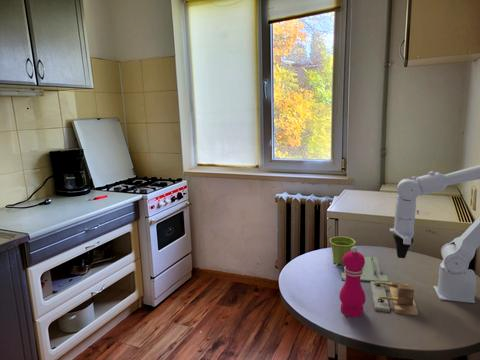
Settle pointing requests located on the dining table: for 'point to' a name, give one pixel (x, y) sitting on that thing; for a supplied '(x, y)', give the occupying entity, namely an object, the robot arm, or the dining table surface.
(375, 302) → the bolt strip
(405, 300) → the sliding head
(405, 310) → the trammel beam
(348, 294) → the pepper mill
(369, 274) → the metal bracket
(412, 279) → the dining table surface
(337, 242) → the plant pot
